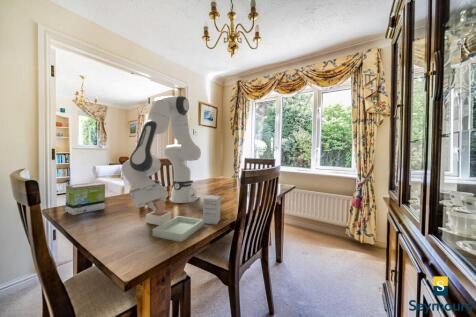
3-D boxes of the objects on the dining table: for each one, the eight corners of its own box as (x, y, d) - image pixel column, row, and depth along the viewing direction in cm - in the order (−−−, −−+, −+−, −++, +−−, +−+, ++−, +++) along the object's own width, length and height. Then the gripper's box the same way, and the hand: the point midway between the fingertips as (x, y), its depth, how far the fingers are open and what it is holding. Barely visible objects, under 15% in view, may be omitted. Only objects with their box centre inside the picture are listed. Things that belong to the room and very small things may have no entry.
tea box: (73, 215, 102) (73, 187, 101) (65, 212, 107) (65, 184, 106) (105, 208, 115) (105, 183, 114) (96, 205, 120) (96, 181, 119)
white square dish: (157, 217, 104) (157, 209, 104) (171, 219, 102) (171, 211, 101) (145, 222, 96) (145, 214, 96) (160, 225, 94) (160, 216, 93)
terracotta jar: (158, 219, 102) (158, 199, 101) (165, 220, 100) (165, 200, 100) (152, 221, 97) (152, 201, 97) (159, 223, 96) (160, 202, 96)
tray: (178, 221, 99) (178, 215, 99) (203, 225, 95) (203, 219, 95) (152, 236, 82) (152, 229, 82) (182, 242, 78) (182, 234, 78)
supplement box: (206, 218, 105) (207, 194, 105) (220, 219, 104) (221, 195, 104) (202, 223, 98) (203, 197, 98) (216, 224, 97) (217, 199, 97)
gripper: (131, 186, 90) (148, 210, 88) (161, 180, 110) (176, 199, 107) (123, 195, 92) (140, 219, 89) (154, 187, 111) (169, 207, 109)
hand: (160, 208), depth 98 cm, fingers closed on terracotta jar, 4 cm apart
